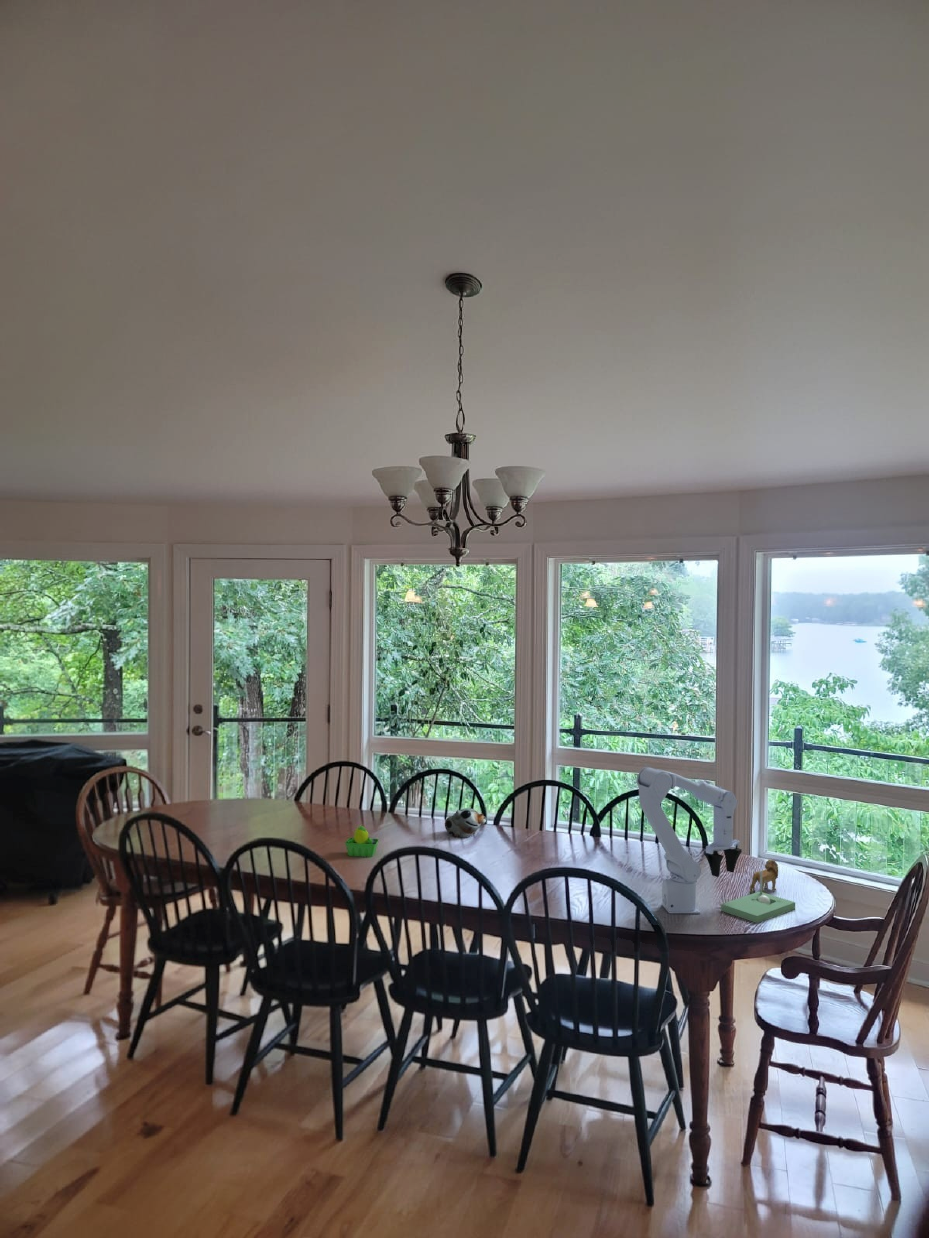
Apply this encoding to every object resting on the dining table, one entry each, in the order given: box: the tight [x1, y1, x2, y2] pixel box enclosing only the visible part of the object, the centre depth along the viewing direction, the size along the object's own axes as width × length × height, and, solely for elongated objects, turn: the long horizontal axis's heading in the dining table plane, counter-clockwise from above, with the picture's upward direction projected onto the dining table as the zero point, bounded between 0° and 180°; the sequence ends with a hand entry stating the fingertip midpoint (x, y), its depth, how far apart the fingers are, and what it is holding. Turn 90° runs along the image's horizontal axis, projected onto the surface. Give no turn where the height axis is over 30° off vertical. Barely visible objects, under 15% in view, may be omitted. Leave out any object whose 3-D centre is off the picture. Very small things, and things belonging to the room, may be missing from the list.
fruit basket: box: [344, 825, 379, 858], centre depth 285 cm, size 11×9×11 cm
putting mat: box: [720, 868, 796, 924], centre depth 233 cm, size 22×12×9 cm, turn 127°
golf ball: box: [758, 895, 770, 904], centre depth 234 cm, size 4×4×4 cm
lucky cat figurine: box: [444, 807, 487, 839], centre depth 315 cm, size 15×12×14 cm
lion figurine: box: [749, 859, 779, 894], centre depth 250 cm, size 15×5×9 cm, turn 135°
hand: (722, 873), depth 237 cm, fingers open, 7 cm apart
